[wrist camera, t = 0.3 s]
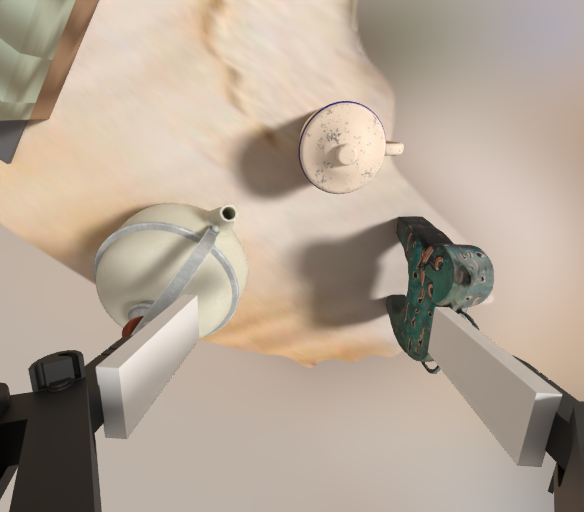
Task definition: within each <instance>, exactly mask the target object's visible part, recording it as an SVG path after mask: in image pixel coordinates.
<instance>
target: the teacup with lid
mask: <svg viewBox="0 0 584 512" xmlns="http://www.w3.org/2000/svg"><path fill="white" fill-rule="evenodd" d="M403 147H404V146H403V144H402V143H400V142H395V141H386V138H385V132H384V129H383V126H382V124H381V122H380V120H379V119H378V117H377V116H376V115H375V114H374V113H373V112H372V111H371V110H370V109H369V108H367V107H366V106H364V105H362V104H359V103H356V102H351V101H341V102H336V103H332V104H330V105H327V106H325V107H323V108H321V109H319V110H317V111H316V112H314V113H313V114H312V115H311V116H310V117H309V118H308V119H307V121H306V122H305V124H304V126H303V128H302V131H301V134H300V139H299V160H300V164H301V168H302V170H303V172H304V174H305V176H306V177H307V179H308V180H309V181H310V182H311V183H312V184H313V185H314V186H316V187H317V188H319V189H321V190H323V191H325V192H328V193H333V194H344V193H349V192H352V191H355V190H357V189H359V188H361V187H363V186H364V185H365V184H367V183H368V182H369V181H370V180H371V179H372V178H373V177H374V176H375V174H376V173H377V172H378V170H379V168H380V166H381V164H382V162H383V159H384V156H396V155H400V154H401V153H402V152H403Z"/></svg>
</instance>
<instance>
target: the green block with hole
mask: <svg viewBox="0 0 584 512" xmlns="http://www.w3.org/2000/svg"><path fill="white" fill-rule="evenodd" d="M98 1H99V0H0V121H3V120H32V119H49V118H50V115H51V113H52V111H53V108H54V106H55V103H56V101H57V99H58V96H59V94H60V92H61V89H62V87H63V84H64V82H65V80H66V77H67V75H68V73H69V70H70V68H71V65H72V63H73V61H74V58H75V56H76V54H77V51H78V49H79V47H80V44H81V42H82V39H83V37H84V35H85V32H86V30H87V28H88V25H89V23H90V20H91V18H92V16H93V13H94V11H95V9H96V6H97V4H98Z"/></svg>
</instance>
